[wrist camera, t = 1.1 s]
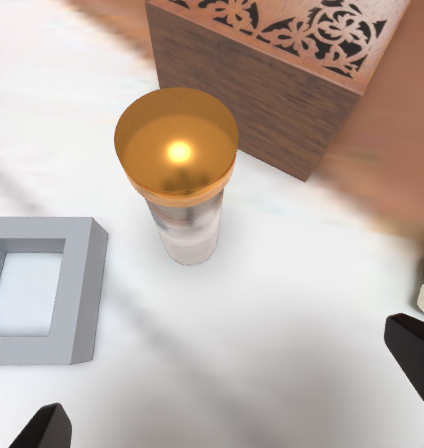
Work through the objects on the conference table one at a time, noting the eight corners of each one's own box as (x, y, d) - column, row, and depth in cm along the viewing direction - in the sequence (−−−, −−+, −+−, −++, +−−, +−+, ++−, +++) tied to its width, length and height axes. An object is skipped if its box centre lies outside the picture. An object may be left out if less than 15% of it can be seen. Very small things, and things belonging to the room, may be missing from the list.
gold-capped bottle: (220, 269, 22) (241, 190, 10) (159, 269, 22) (107, 189, 10) (219, 213, 24) (236, 88, 12) (163, 213, 24) (120, 86, 12)
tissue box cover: (304, 183, 26) (362, 96, 16) (164, 114, 28) (144, 1, 18) (394, 12, 34) (467, -111, 24) (280, -31, 36) (308, -159, 27)
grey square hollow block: (92, 360, 20) (70, 364, 17) (-45, 361, 20) (-94, 366, 16) (108, 234, 23) (92, 217, 20) (-9, 233, 23) (-45, 216, 20)
